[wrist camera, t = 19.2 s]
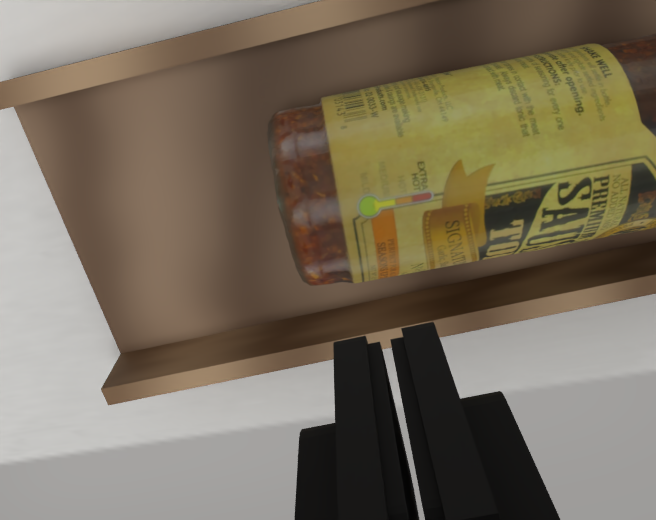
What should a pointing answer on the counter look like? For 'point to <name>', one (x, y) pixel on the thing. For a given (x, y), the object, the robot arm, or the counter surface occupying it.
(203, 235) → the tray
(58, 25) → the counter surface
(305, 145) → the sauce bottle
